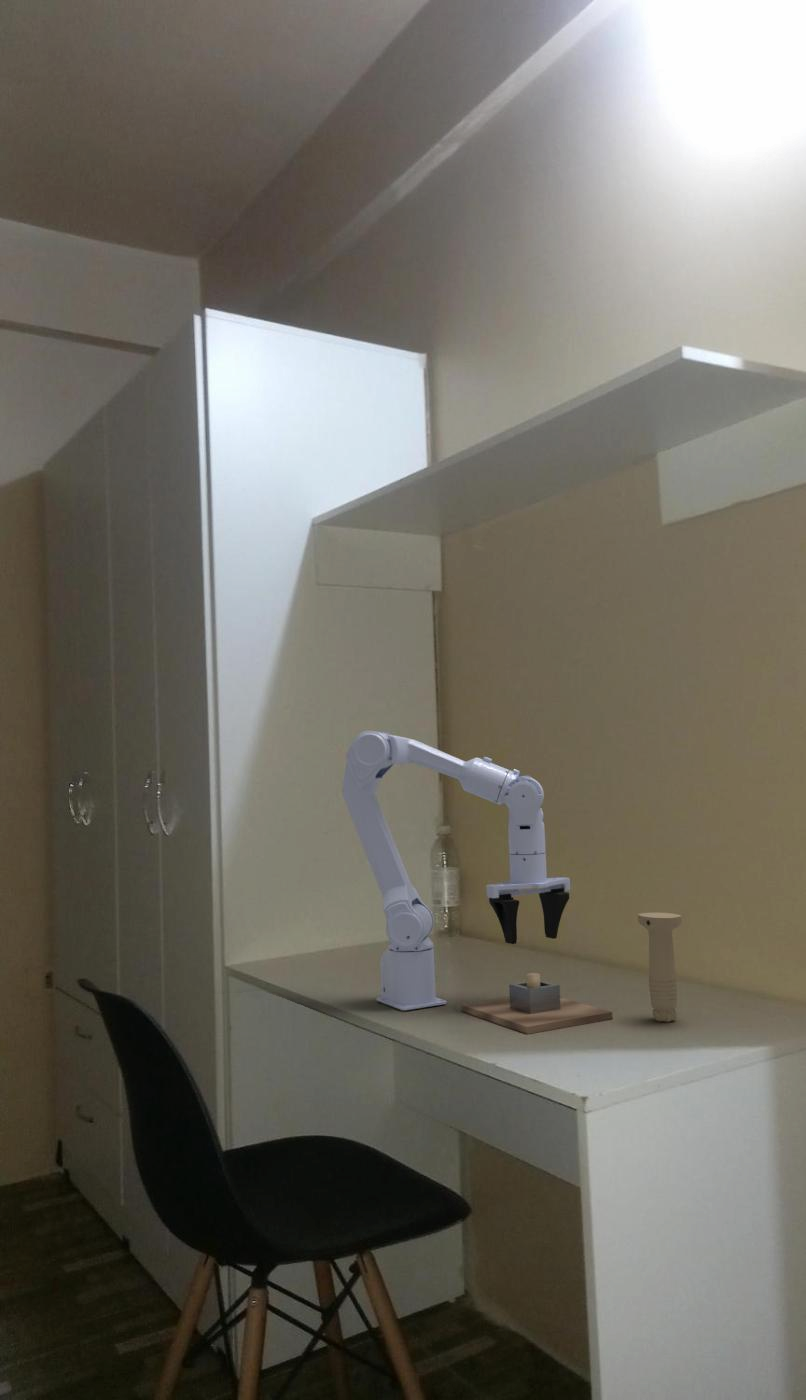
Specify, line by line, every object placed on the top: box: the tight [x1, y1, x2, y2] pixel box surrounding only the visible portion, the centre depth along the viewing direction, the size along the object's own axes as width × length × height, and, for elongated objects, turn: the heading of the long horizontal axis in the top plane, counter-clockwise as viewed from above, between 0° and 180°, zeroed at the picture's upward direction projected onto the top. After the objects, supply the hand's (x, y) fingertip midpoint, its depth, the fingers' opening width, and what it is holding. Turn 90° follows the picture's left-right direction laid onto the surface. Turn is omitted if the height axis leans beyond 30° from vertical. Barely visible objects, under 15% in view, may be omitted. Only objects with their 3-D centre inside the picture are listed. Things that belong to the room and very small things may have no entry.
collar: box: [508, 979, 561, 1014], centre depth 167 cm, size 5×5×4 cm
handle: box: [637, 911, 683, 1023], centre depth 162 cm, size 5×6×15 cm
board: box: [460, 972, 613, 1035], centre depth 168 cm, size 18×15×6 cm
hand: (531, 940), depth 175 cm, fingers open, 7 cm apart
